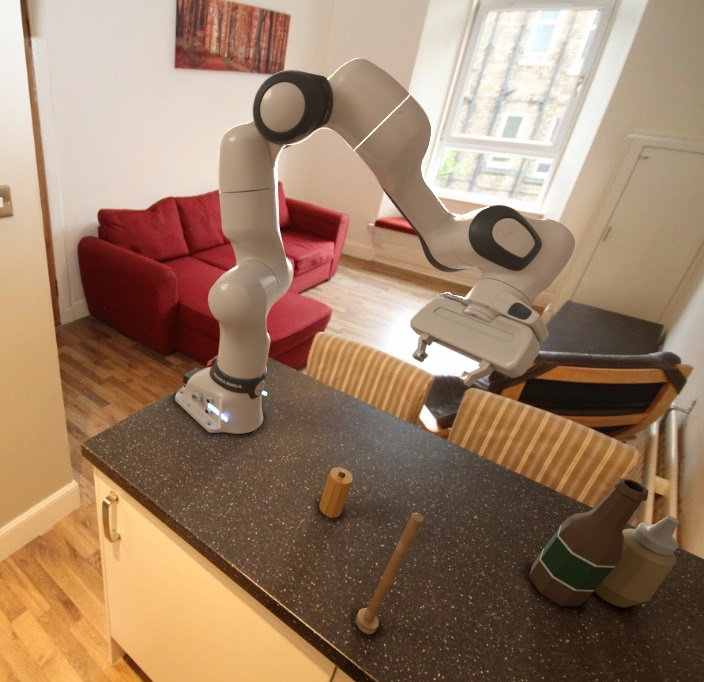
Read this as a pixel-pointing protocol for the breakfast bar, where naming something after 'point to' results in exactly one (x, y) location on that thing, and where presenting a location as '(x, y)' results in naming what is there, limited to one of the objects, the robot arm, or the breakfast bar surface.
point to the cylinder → (335, 492)
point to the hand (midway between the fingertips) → (438, 370)
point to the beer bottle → (586, 546)
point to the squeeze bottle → (641, 564)
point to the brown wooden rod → (388, 576)
